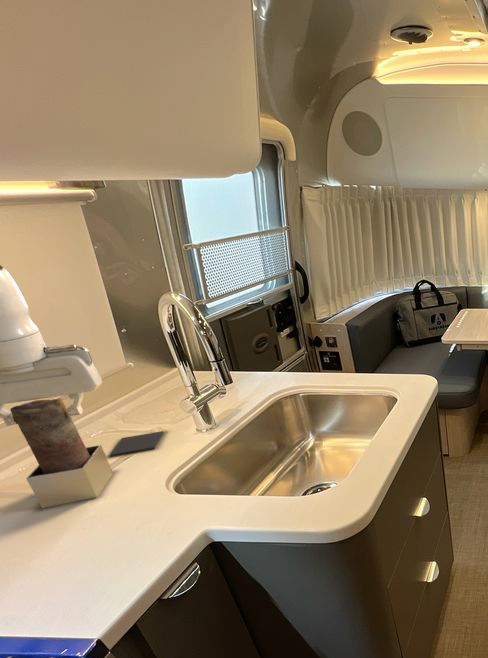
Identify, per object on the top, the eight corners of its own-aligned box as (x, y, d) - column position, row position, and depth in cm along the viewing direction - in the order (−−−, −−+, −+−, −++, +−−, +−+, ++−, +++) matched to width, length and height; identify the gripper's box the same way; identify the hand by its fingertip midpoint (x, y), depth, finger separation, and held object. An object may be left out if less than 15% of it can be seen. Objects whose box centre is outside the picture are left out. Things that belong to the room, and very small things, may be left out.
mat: (111, 456, 111) (110, 454, 111) (122, 439, 118) (122, 438, 118) (154, 448, 114) (154, 446, 114) (163, 432, 121) (163, 431, 121)
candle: (46, 496, 98) (0, 407, 89) (87, 476, 104) (47, 392, 96) (71, 503, 95) (26, 413, 87) (111, 482, 102) (73, 397, 93)
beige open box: (42, 508, 94) (26, 478, 91) (63, 481, 102) (48, 453, 99) (96, 497, 97) (83, 467, 94) (113, 472, 105) (101, 444, 102)
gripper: (91, 338, 94) (118, 402, 99) (-52, 354, 86) (-14, 422, 92) (78, 348, 88) (107, 415, 94) (-75, 366, 81) (-34, 437, 87)
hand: (46, 418), depth 93 cm, fingers open, 8 cm apart
